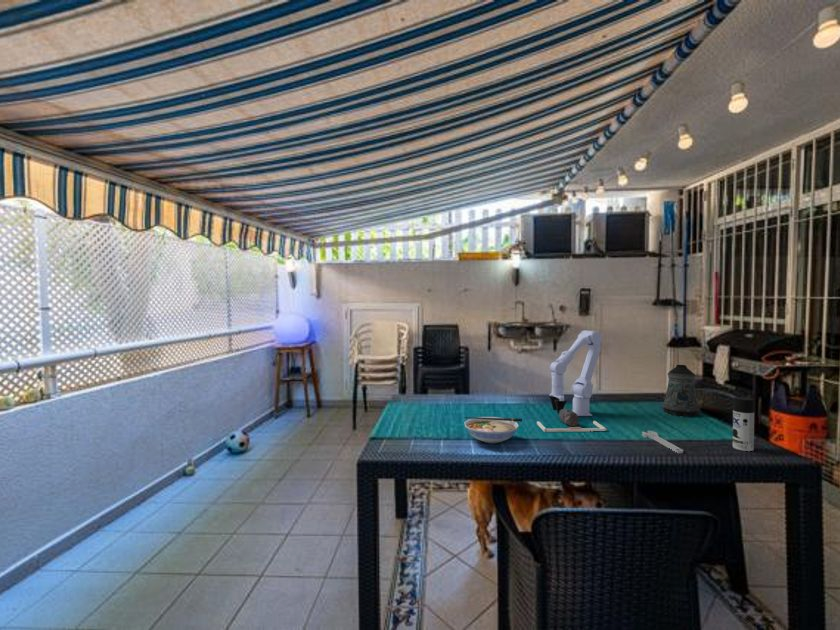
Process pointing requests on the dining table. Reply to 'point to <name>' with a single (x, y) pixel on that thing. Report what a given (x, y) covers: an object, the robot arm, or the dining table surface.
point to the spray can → (743, 424)
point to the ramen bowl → (491, 428)
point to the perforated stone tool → (568, 417)
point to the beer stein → (681, 393)
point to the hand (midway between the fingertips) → (557, 412)
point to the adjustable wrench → (661, 441)
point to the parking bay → (574, 428)
